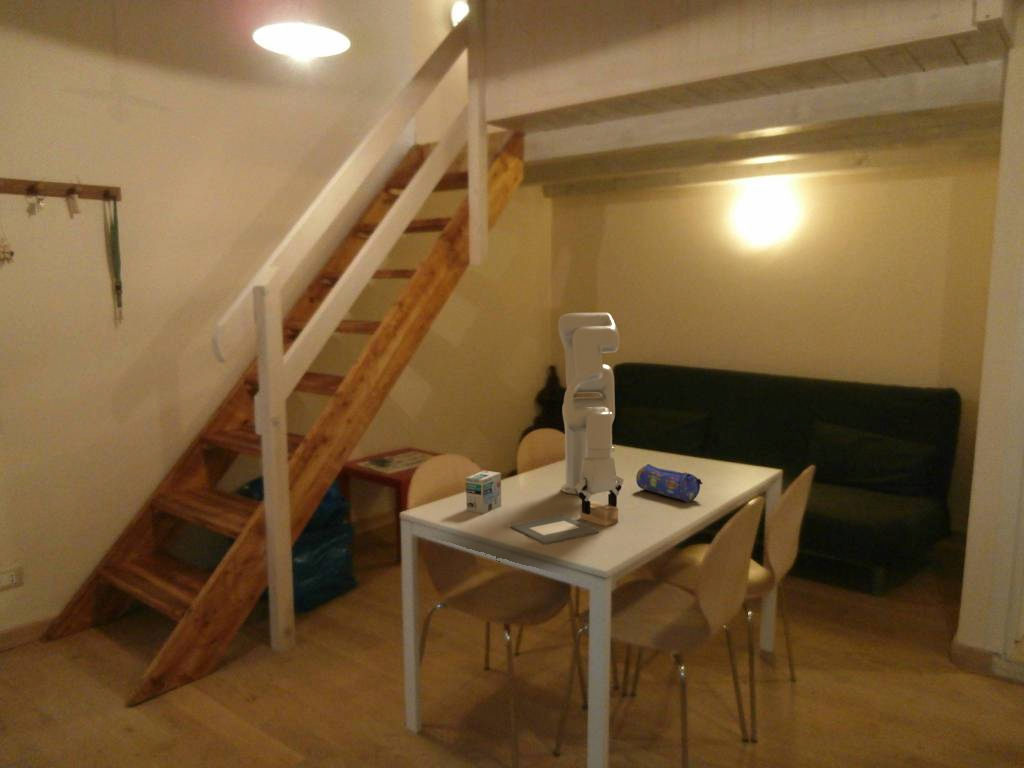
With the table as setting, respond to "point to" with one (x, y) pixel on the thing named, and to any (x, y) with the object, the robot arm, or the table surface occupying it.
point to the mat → (554, 529)
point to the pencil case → (669, 483)
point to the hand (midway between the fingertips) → (599, 510)
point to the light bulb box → (483, 491)
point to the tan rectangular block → (600, 513)
